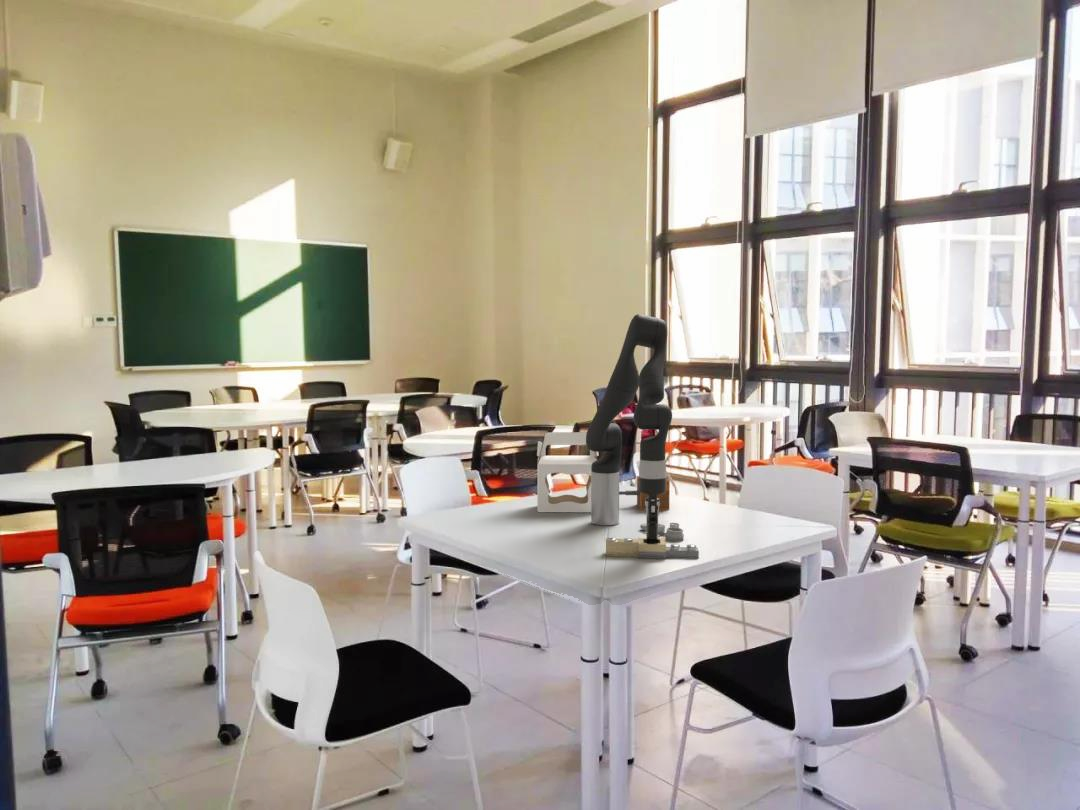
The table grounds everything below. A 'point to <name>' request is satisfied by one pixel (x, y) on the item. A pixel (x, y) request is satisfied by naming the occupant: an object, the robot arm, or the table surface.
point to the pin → (647, 532)
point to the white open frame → (564, 466)
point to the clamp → (641, 497)
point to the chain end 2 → (672, 552)
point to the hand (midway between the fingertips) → (652, 536)
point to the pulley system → (668, 532)
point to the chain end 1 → (632, 546)
